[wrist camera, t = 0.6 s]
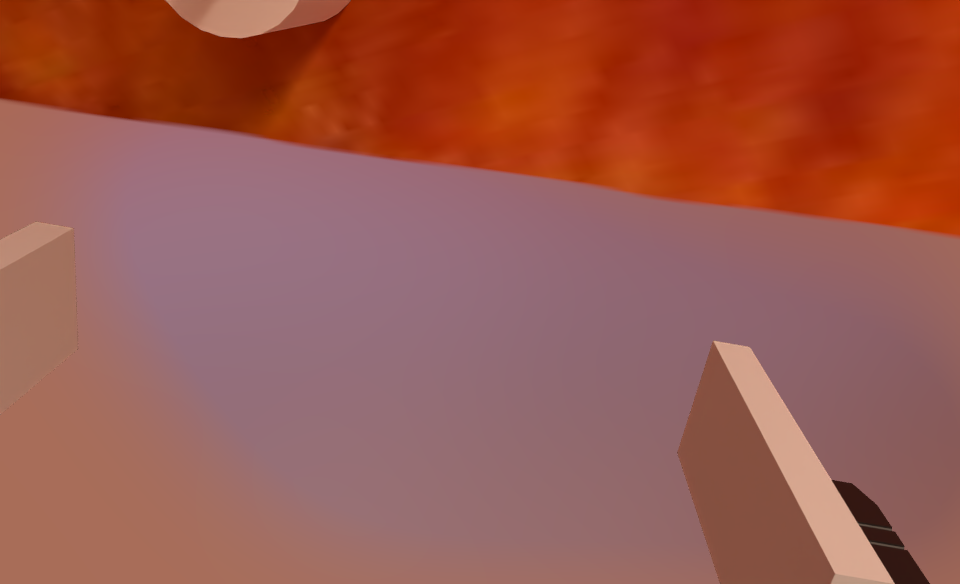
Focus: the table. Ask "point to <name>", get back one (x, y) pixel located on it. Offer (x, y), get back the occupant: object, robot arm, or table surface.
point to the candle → (254, 14)
